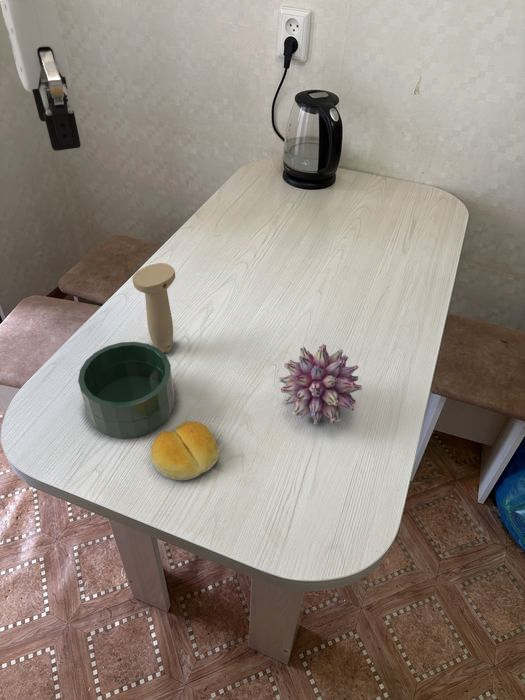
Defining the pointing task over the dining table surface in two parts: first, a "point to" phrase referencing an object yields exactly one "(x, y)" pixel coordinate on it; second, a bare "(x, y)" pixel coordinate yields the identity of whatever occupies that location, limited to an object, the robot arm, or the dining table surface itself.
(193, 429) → the bread roll
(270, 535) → the dining table surface
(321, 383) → the flower
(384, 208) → the dining table surface
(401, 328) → the dining table surface
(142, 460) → the dining table surface
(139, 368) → the pot
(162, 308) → the handle
